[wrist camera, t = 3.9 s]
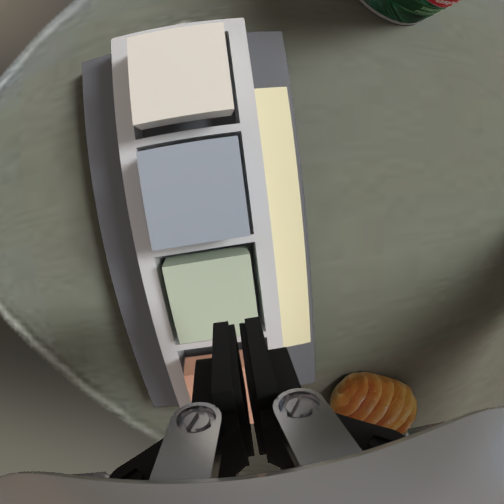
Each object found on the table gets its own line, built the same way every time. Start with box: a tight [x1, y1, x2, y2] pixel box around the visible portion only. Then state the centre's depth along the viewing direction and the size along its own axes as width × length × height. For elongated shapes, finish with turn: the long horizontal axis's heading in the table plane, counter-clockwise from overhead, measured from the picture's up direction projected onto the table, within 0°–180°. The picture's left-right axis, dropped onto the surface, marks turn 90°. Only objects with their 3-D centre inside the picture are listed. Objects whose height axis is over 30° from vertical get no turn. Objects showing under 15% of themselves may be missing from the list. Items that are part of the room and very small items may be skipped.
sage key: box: [162, 245, 258, 344], centre depth 17 cm, size 4×4×2 cm
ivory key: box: [127, 22, 234, 130], centre depth 13 cm, size 4×4×2 cm
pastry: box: [330, 372, 417, 434], centre depth 24 cm, size 9×7×4 cm
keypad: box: [82, 18, 315, 408], centre depth 18 cm, size 12×24×4 cm, turn 7°
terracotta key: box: [184, 349, 254, 424], centre depth 17 cm, size 4×4×2 cm
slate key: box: [136, 136, 251, 251], centre depth 14 cm, size 4×4×2 cm
